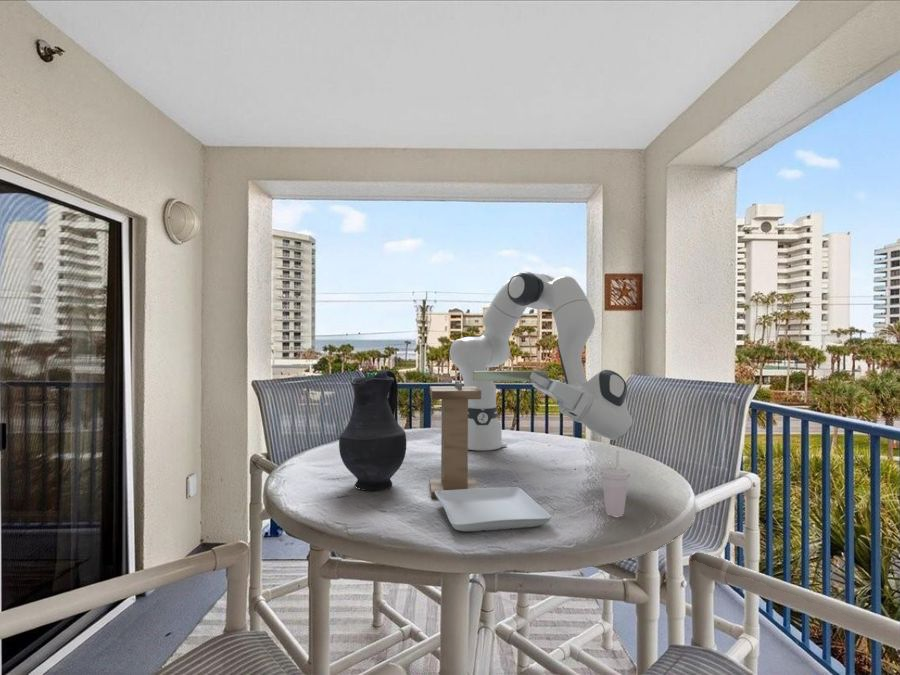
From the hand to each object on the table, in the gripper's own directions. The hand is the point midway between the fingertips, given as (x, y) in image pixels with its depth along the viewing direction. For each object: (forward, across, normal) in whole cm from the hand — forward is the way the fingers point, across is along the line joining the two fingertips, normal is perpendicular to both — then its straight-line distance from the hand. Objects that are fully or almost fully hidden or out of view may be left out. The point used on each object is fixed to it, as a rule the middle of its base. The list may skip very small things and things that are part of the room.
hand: (528, 374), depth 133 cm
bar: (+3, 0, +4) cm, 5 cm away
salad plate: (-4, +19, +33) cm, 38 cm away
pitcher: (+19, -7, +45) cm, 50 cm away
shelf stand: (+2, 0, +35) cm, 35 cm away
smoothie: (-28, +20, +18) cm, 39 cm away
